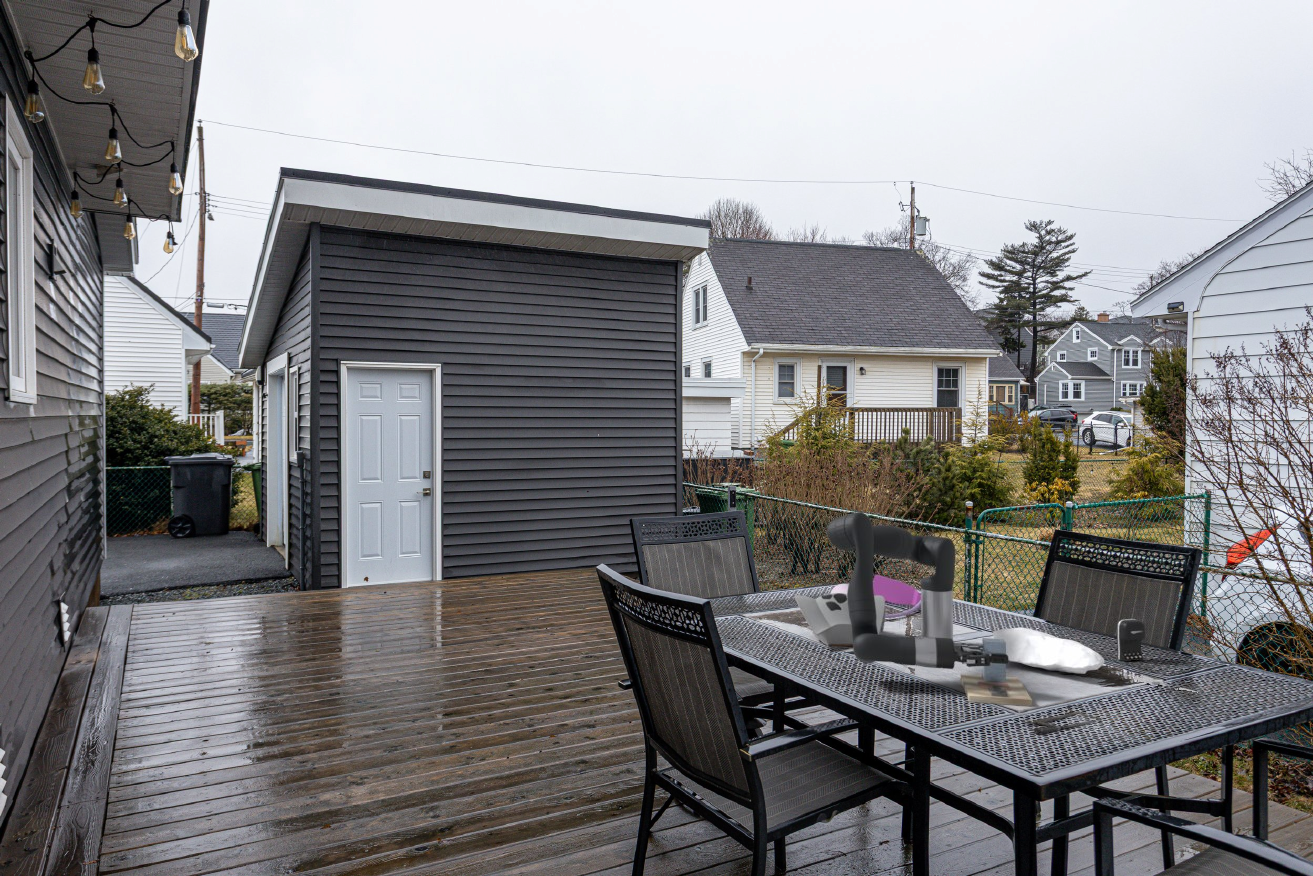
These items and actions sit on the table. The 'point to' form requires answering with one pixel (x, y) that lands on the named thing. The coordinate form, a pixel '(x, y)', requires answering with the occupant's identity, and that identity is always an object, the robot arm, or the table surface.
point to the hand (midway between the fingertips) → (1006, 657)
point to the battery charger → (1130, 639)
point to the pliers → (1155, 682)
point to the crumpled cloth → (1048, 651)
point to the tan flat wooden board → (995, 691)
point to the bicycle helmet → (834, 617)
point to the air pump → (890, 593)
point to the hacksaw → (1055, 728)
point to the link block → (995, 670)
